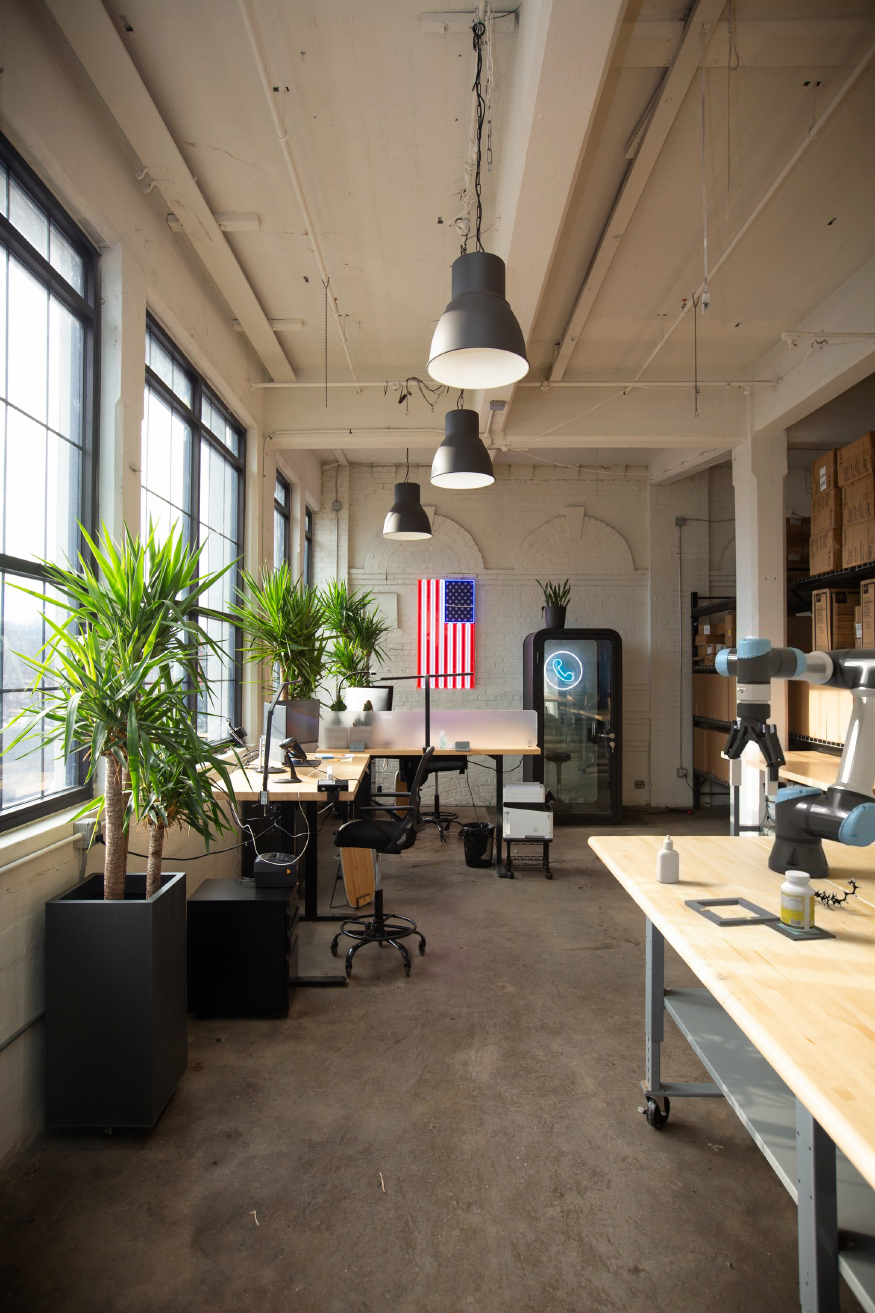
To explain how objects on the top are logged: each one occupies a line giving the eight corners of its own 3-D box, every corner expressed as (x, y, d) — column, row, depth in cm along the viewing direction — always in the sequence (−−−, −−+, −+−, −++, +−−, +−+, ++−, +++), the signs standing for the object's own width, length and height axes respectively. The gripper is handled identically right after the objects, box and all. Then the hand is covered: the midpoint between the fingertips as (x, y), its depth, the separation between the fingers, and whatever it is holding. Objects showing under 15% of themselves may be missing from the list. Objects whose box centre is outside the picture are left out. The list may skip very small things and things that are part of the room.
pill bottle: (809, 924, 154) (810, 870, 154) (818, 934, 148) (818, 879, 148) (777, 921, 156) (777, 868, 156) (784, 931, 149) (784, 876, 149)
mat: (802, 920, 157) (802, 918, 157) (836, 937, 147) (836, 935, 147) (762, 923, 155) (762, 921, 155) (793, 940, 146) (793, 938, 146)
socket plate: (741, 901, 170) (741, 896, 170) (781, 922, 156) (781, 917, 156) (684, 904, 167) (684, 899, 167) (720, 926, 153) (720, 921, 153)
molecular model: (800, 895, 175) (800, 862, 175) (864, 913, 163) (864, 877, 163) (786, 900, 172) (786, 866, 172) (852, 919, 159) (851, 882, 159)
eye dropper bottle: (656, 878, 188) (656, 832, 188) (678, 880, 187) (678, 834, 187) (656, 882, 184) (657, 836, 184) (679, 885, 182) (680, 838, 183)
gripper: (709, 699, 182) (709, 782, 182) (773, 704, 158) (773, 800, 157) (735, 699, 184) (735, 781, 183) (803, 705, 159) (802, 799, 159)
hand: (752, 790), depth 170 cm, fingers open, 13 cm apart
